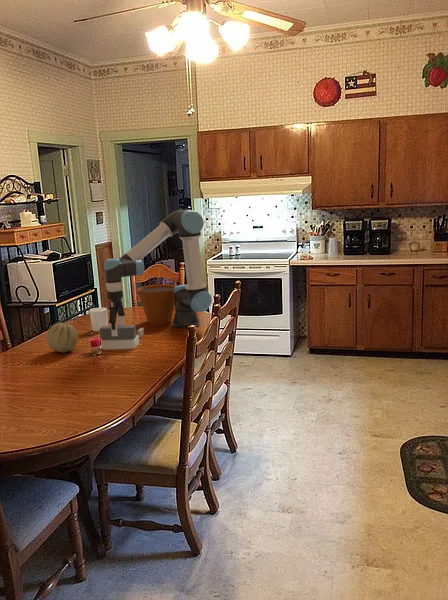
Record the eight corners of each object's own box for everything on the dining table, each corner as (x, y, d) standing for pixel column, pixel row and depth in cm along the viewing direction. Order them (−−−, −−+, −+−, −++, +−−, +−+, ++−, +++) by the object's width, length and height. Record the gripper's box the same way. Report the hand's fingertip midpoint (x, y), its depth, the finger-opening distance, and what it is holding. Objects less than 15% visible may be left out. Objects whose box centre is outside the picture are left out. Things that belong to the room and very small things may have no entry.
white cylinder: (107, 332, 293) (105, 311, 291) (89, 332, 294) (87, 311, 291) (111, 327, 303) (109, 307, 301) (94, 328, 303) (92, 307, 301)
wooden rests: (144, 335, 284) (143, 327, 283) (141, 338, 278) (141, 331, 277) (112, 336, 285) (111, 328, 284) (109, 339, 279) (108, 331, 278)
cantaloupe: (41, 354, 258) (38, 324, 255) (63, 346, 271) (60, 317, 267) (64, 357, 251) (60, 327, 248) (85, 349, 264) (82, 319, 261)
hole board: (139, 342, 270) (138, 335, 269) (135, 348, 261) (134, 340, 260) (104, 343, 271) (103, 336, 271) (99, 349, 262) (98, 341, 261)
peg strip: (137, 343, 268) (135, 325, 266) (135, 346, 263) (133, 327, 261) (104, 344, 269) (102, 326, 267) (101, 347, 264) (99, 328, 262)
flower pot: (136, 319, 320) (134, 286, 316) (175, 314, 327) (173, 282, 322) (142, 328, 298) (140, 293, 293) (184, 323, 304) (182, 289, 300)
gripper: (113, 285, 272) (117, 325, 277) (99, 295, 248) (103, 339, 253) (128, 285, 272) (131, 325, 276) (115, 295, 248) (119, 339, 252)
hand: (118, 332), depth 264 cm, fingers open, 13 cm apart
